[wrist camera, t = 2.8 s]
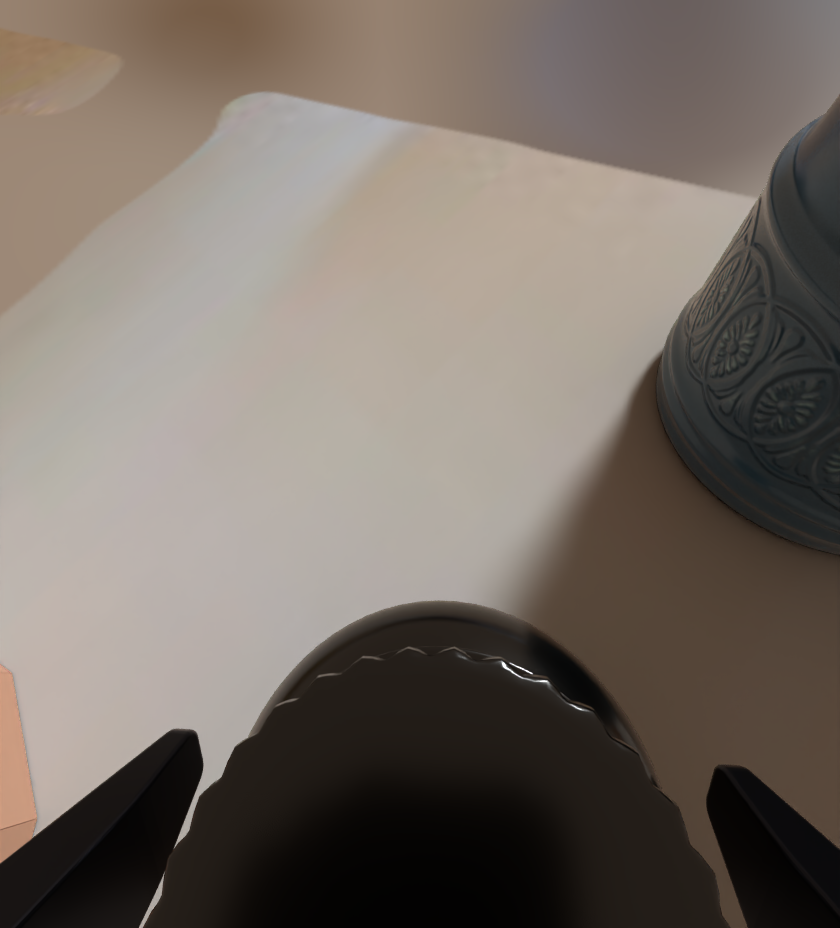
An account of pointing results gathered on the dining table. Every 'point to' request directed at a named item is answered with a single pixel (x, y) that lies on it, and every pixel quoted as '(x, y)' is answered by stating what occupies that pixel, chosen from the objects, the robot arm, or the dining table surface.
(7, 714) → the terracotta bowl
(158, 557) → the dining table surface
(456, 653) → the supplement bottle
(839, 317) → the canister
